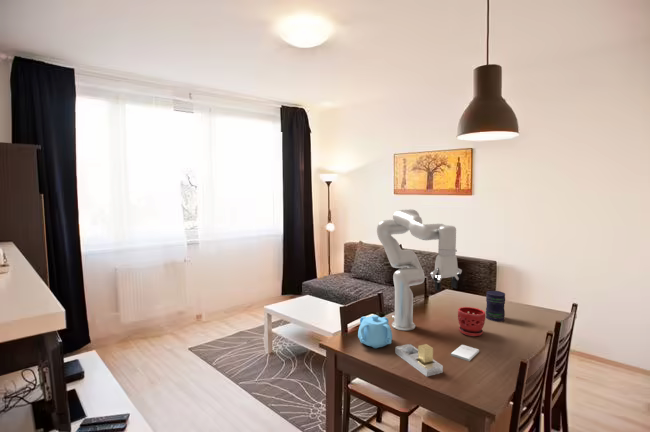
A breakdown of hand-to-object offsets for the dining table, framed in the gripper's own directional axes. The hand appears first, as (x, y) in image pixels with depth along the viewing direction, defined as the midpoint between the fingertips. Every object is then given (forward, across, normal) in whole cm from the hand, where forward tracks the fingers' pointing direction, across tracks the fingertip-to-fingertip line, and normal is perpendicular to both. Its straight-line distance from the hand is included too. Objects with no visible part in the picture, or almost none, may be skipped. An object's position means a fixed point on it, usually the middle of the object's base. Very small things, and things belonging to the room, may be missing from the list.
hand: (446, 289), depth 165 cm
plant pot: (+29, -25, -9) cm, 39 cm away
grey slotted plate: (+28, +20, +6) cm, 35 cm away
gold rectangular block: (+28, +20, +11) cm, 36 cm away
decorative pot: (+29, +27, -18) cm, 43 cm away
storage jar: (+28, -53, -19) cm, 63 cm away
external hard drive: (+29, -5, +8) cm, 30 cm away
